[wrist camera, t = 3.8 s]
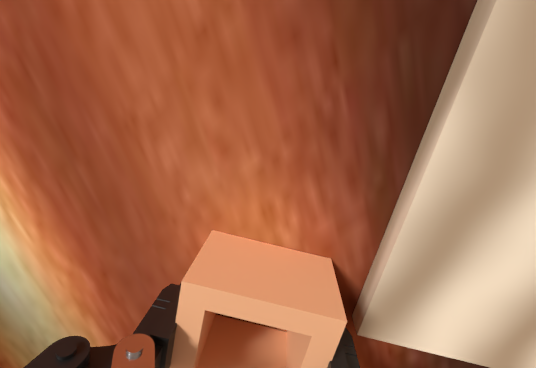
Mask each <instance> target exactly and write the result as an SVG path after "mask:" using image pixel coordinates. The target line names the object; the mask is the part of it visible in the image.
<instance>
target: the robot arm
mask: <svg viewBox="0 0 536 368" xmlns="http://www.w3.org/2000/svg"><path fill="white" fill-rule="evenodd" d="M180 289H181V284H180V285H175V284H170V285H169V286H167V287H166V288H164V289H163V290H162V291H161V293H160V294H159V296H158V297H157V300H155V302H154V303H153V305H152V307H151V308H150V309H149V311H148V312H147V314H146V315H145V317H144V318H143V320H142V321H141V323H140V324H139V326H138V327H137V328H136V330H135V331H134V333H133V334H132V335H129V336H127V337H125V338H123V339H122V340H121V341H120V342H119V343H118V344H116V345H112V346H102V347H90V343H89V341H88V340H87V339H86V338H84V337H81V336H69V337H65V338H62V339H60V340H58V341H56V342H54V343H53V344H52V345H50V346H49V347H48V348H47V349H45V350H44V351H43V352H42V353H41V354H39V355H38V356H37V357H36V358H35V359H33V360H32V361H31V362H30V363H29V364H28V365H26V366H25V367H24V368H170V365H171V359H172V352H173V346H174V339H175V333H176V327H177V323H175V321H176V315H177V308H178V302H179V295H180ZM327 368H360V366H359V362H358V358H357V354H356V350H355V349H354V343H353V339H352V336H351V334H350V333H349V331H348V330H347V328H346V327H345V329H344V331H343V334H342V336H341V339H340V341H339V344H338V346H337V349H336V351H335V354H334V356H333V359H332V361H330V362H329V364H328V367H327Z"/></svg>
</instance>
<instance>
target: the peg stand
mask: <svg viewBox="0 0 536 368" xmlns="http://www.w3.org/2000/svg"><path fill="white" fill-rule="evenodd" d="M352 319H353V323H354V326H355V330H356V333H357V335H359V336H363V337H367V338H371V339H376V340H380V341H384V342H388V343H392V344H396V345H400V346H404V347H408V348H412V349H417V350H421V351H425V352H429V353H433V354H437V355H441V356H445V357H449V358H453V359H458V360H462V361H466V362H470V363H474V364H478V365H482V366H486V367H490V368H536V0H477V3H476V6H475V8H474V11H473V13H472V16H471V18H470V21H469V23H468V26H467V28H466V31H465V33H464V36H463V38H462V41H461V43H460V46H459V48H458V51H457V53H456V56H455V58H454V61H453V63H452V66H451V68H450V71H449V73H448V76H447V78H446V81H445V83H444V86H443V88H442V91H441V93H440V96H439V98H438V101H437V103H436V106H435V108H434V111H433V113H432V116H431V118H430V121H429V123H428V126H427V128H426V131H425V133H424V136H423V139H422V141H421V144H420V146H419V149H418V151H417V154H416V156H415V159H414V161H413V164H412V166H411V169H410V171H409V174H408V176H407V179H406V181H405V184H404V186H403V189H402V191H401V194H400V196H399V199H398V201H397V204H396V206H395V209H394V211H393V214H392V216H391V219H390V221H389V224H388V226H387V229H386V231H385V234H384V236H383V239H382V241H381V244H380V246H379V249H378V251H377V254H376V256H375V259H374V261H373V264H372V266H371V269H370V271H369V274H368V277H367V279H366V282H365V284H364V287H363V289H362V292H361V294H360V297H359V299H358V302H357V304H356V307H355V309H354V312H353V314H352Z"/></svg>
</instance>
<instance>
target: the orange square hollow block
mask: <svg viewBox="0 0 536 368" xmlns="http://www.w3.org/2000/svg"><path fill="white" fill-rule="evenodd" d="M216 313H218V314H222V315H227V316H231V317H235V318H239V319H243V320H247V321H251V322H255V323H259V324H263V325H267V326H271V327H275V328H280V329H284V330H287V332H285V331H281V330H277V329H273V328H269V327H265V326H261V325H257V324H253V323H249V322H244V321H240V320H236V319H232V318H228V317H224V316H220V315H216ZM175 323H177V327H176V333H175V339H174V346H173V352H172V359H171V365H170V368H327V367H328V364H329V362H330V361H332V359H333V356H334V354H335V351H336V349H337V346H338V344H339V341H340V339H341V336H342V334H343V331H344V329H345V326H346V324H347V319H346V315H345V311H344V307H343V303H342V299H341V295H340V291H339V288H338V284H337V280H336V276H335V272H334V268H333V264H332V260H331V259H330V258H326V257H322V256H317V255H313V254H309V253H305V252H301V251H297V250H293V249H289V248H285V247H280V246H276V245H272V244H268V243H264V242H260V241H256V240H252V239H247V238H243V237H239V236H235V235H231V234H227V233H223V232H219V231H215V230H212V232H211V233H210V235H209V237H208V238H207V240H206V242H205V243H204V245H203V247H202V248H201V250H200V252H199V253H198V255H197V257H196V258H195V260H194V261H193V263H192V265H191V266H190V268H189V270H188V271H187V273H186V275H185V276H184V278H183V280H182V282H181V289H180V295H179V302H178V308H177V315H176V321H175Z"/></svg>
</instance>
